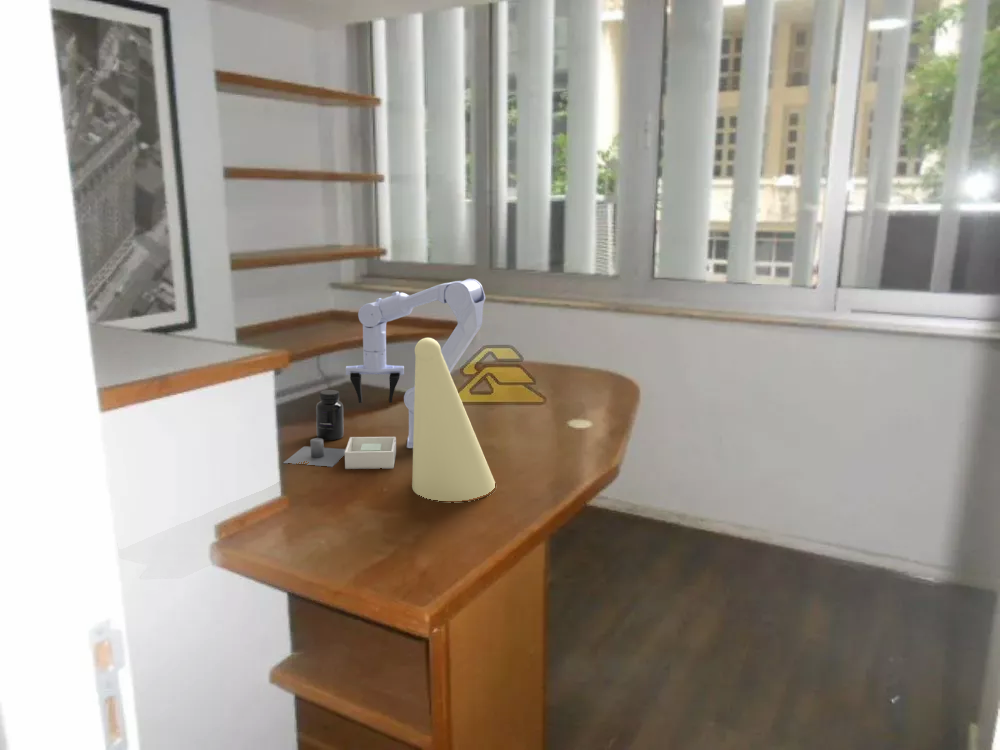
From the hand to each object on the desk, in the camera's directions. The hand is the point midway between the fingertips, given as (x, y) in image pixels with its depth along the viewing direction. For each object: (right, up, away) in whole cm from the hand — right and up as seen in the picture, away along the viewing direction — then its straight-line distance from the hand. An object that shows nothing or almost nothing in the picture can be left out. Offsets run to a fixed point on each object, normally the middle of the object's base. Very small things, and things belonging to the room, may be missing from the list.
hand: (375, 401), depth 193 cm
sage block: (+1, -13, -15) cm, 20 cm away
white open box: (+1, -13, -15) cm, 20 cm away
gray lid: (-12, -13, -13) cm, 22 cm away
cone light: (+21, -18, -32) cm, 42 cm away
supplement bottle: (-12, -9, +2) cm, 15 cm away
